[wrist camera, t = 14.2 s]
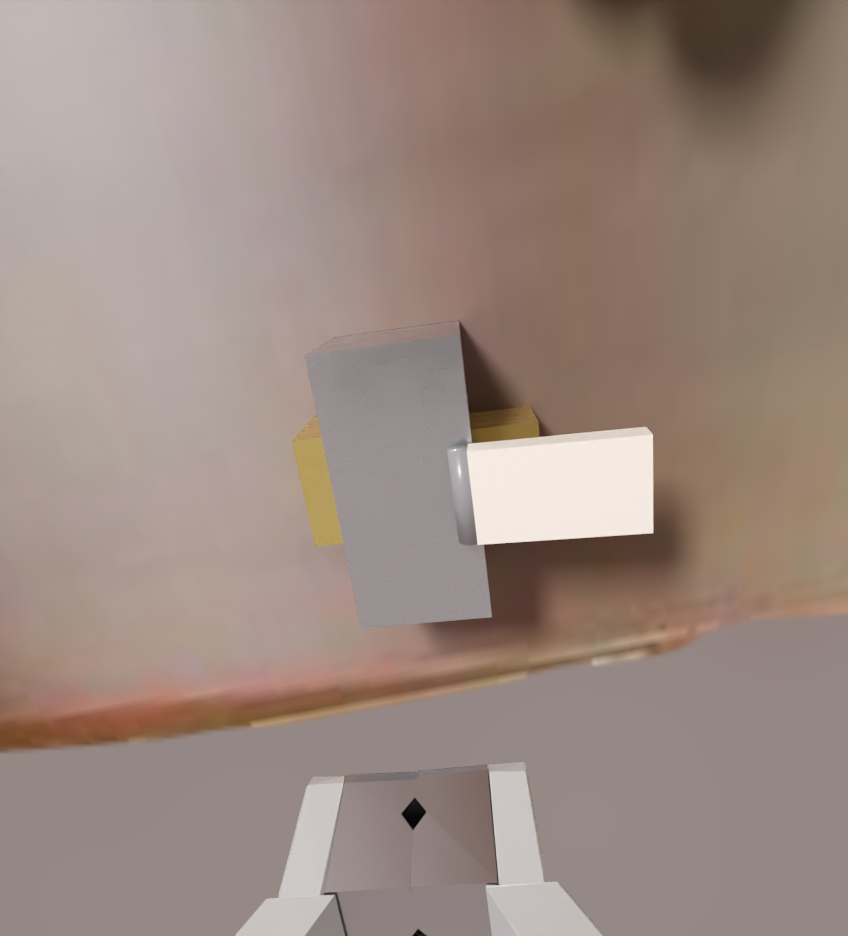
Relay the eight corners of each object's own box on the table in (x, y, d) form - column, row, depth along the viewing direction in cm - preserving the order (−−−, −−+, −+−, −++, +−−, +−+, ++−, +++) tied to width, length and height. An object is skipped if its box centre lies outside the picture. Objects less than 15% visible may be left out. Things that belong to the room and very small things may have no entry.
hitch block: (377, 566, 32) (360, 628, 26) (334, 337, 27) (304, 355, 22) (485, 555, 31) (492, 617, 26) (458, 320, 27) (459, 334, 21)
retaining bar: (457, 546, 23) (653, 533, 22) (445, 453, 22) (652, 434, 21) (459, 535, 24) (647, 521, 23) (447, 445, 23) (646, 426, 22)
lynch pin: (337, 502, 30) (315, 546, 26) (318, 411, 29) (292, 440, 24) (536, 481, 29) (551, 523, 25) (528, 385, 28) (543, 410, 23)
